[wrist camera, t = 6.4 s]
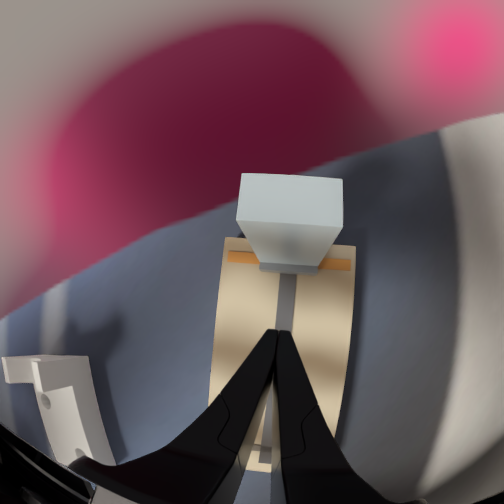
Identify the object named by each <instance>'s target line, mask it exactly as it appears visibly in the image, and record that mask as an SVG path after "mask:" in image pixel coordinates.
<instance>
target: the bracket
mask: <svg viewBox="0 0 504 504" xmlns="http://www.w3.org/2000/svg"><path fill="white" fill-rule="evenodd" d="M2 364H3V369H4V375H5V380H6V383H9V384H12V383H33V384H34V389H35V393H36V398H37V402H38V406H39V409H40V413H41V417H42V420H43V423H44V427H45V430H46V433H47V436H48V439H49V442H50V445H51V447H52V450H53V453H54V455H55V458H56V460H57V462H59V463H62V464H64V465H67V466H69V464H70V463H71V462H73V461H74V460H76V459H78V458H80V457H81V456H83V455H85V456H88V457H90V458H92V459H94V460H96V461H98V462H99V463H102V464H104V465H109V466H116V463H115V460H114V457H113V454H112V451H111V448H110V445H109V442H108V439H107V436H106V432H105V429H104V426H103V422H102V418H101V415H100V411H99V407H98V403H97V398H96V394H95V390H94V385H93V380H92V375H91V369H90V364H89V358H88V356H72V355H64V356H59V355H45V354H44V355H30V356H14V357H2Z"/></svg>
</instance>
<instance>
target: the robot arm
mask: <svg viewBox="0 0 504 504" xmlns="http://www.w3.org/2000/svg"><path fill="white" fill-rule="evenodd" d="M278 332H279V333H278ZM273 373H274V374H273ZM272 380H273V383H272ZM271 385H272V457H271V499H270V504H428V503H427V502H426V500H425V499H418V500H414V501H409V502H405V503H395V502H392V501H389V500H388V499H386V498H385V497H384V496H382V495H381V494H380V493H379V492H377V491H376V490H375V489H374V488H373V487H371V486H370V485H369V484H368V483H367V482H365V481H364V480H363V479H362V478H361V477H360V476H358V475H357V474H356V473H355V471H354V470H353V469H352V468H351V466H350V465H349V463H348V462H347V460H346V458H345V456H344V455H343V453H342V451H341V449H340V448H339V446H338V444H337V442H336V441H335V439H334V437H333V435H332V433H331V431H330V429H329V427H328V426H327V423H326V421H325V419H324V416H323V414H322V411H321V409H320V406H319V405H318V401H317V399H316V396H315V393H314V391H313V388H312V386H311V383H310V380H309V378H308V375H307V373H306V370H305V367H304V365H303V362H302V360H301V357H300V355H299V352H298V349H297V347H296V344H295V342H294V339H293V337H292V334H291V332H290V331H289V330H279V331H278V330H277V329H267V330H266V331H265V333H264V334H263V335H262V337H261V338H260V340H259V341H258V342H257V344H256V345H255V347H254V348H253V349H252V351H251V352H250V353H249V355H248V356H247V357H246V359H245V360H244V362H243V363H242V364H241V366H240V367H239V368H238V370H237V371H236V372H235V374H234V375H233V376H232V377H231V379H230V380H229V381H228V383H227V384H226V385H225V387H224V388H223V389H222V391H221V392H220V394H218V395H217V397H216V398H215V399H214V401H213V402H212V403H211V404H210V405H209V406H208V408H207V409H206V410H205V411H204V412H203V413H202V414H201V415H200V416H199V417H198V418H197V419H196V420H195V421H194V422H193V423H192V424H191V425H190V426H188V427H187V428H186V429H185V430H184V431H183V432H182V433H181V434H179V435H178V436H177V437H176V438H175V439H174V440H173V441H171V442H170V443H169V444H167V445H166V446H164V447H163V448H161V449H159V450H157V451H155V452H152V453H150V454H147V455H145V456H142V457H140V458H137V459H134V460H132V461H129V462H126V463H123V464H120V465H116V466H109V465H104V464H102V463H99V462H98V461H96V460H94V459H92V458H90V457H88V456H85V455H83V456H81V457H80V458H78V459H76V460H74V461H73V462H71V463H70V464H69V466H68V468H69V469H71V470H72V471H74V472H75V473H77V474H78V475H80V476H82V477H84V478H85V479H87V480H89V481H91V482H93V483H95V484H96V487H95V490H94V491H93V488H92V486H91V484H90V483H89V482H88V481H86V480H84V479H82V478H81V477H79V476H77V475H75V474H74V473H72V472H71V471H69V470H67V469H66V468H64V467H63V466H61V465H60V464H58V463H57V462H55V461H54V460H52V459H51V458H49V457H48V456H46V455H45V454H43V453H42V452H40V451H39V450H38V449H36V448H35V447H33V446H32V445H30V444H29V443H27V442H26V441H25V440H23V439H22V438H20V437H19V436H18V435H16V434H15V433H14V432H12V431H11V430H10V429H8V428H7V427H6V426H4V425H3V424H2V423H1V422H0V504H233V503H234V500H235V497H236V495H237V492H238V489H239V486H240V484H241V481H242V477H243V475H244V472H245V469H246V466H247V463H248V460H249V457H250V454H251V451H252V448H253V445H254V442H255V439H256V436H257V433H258V429H259V426H260V423H261V420H262V416H263V413H264V410H265V406H266V403H267V400H268V396H269V393H270V389H271ZM472 504H504V490H503V491H500V492H498V493H496V494H494V495H491V496H489V497H487V498H484V499H482V500H479V501H477V502H474V503H472Z"/></svg>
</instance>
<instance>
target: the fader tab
mask: <svg viewBox="0 0 504 504" xmlns="http://www.w3.org/2000/svg"><path fill="white" fill-rule="evenodd" d="M236 221H237V223H238V224H239V226H240V228H241V230H242V231H243V233H244V235H245V237H246V238H247V240H248V242H249V244H250V246H251V247H252V249H253V251H254V253H255V254H256V256H257V258H258V260H259V261H260V265H259V270H260V271H261V272H272V273H285V274H298V275H312V276H316V275H317V273H318V265H319V264H320V262H321V261H322V259H323V258H324V256H325V255H326V253H327V252H328V250H329V249H330V247H331V245H332V244H333V242H334V241H335V239H336V238H337V236H338V234H339V233H340V231H341V230H342V228H343V182H342V179H336V178H324V177H311V176H297V175H278V174H251V173H242V178H241V185H240V194H239V201H238V209H237V217H236Z"/></svg>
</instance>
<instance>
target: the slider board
mask: <svg viewBox="0 0 504 504" xmlns="http://www.w3.org/2000/svg"><path fill="white" fill-rule="evenodd" d="M355 260H356V246H346V245H333V244H332V245H331V247H330V249H329V250H328V252H327V253H326V255H325V256H324V258H323V259H322V261H321V262H320V264H319V265H318V273H317V275H316V276H312V275H298V274H285V273H272V272H261V271H260V270H259V265H260V261H259V260H258V258H257V256H256V254H255V253H254V251H253V249H252V247H251V246H250V244H249V242H248V240H247V238H232V237H225V244H224V252H223V260H222V269H221V278H220V286H219V295H218V305H217V314H216V324H215V334H214V344H213V355H212V366H211V378H210V390H209V402H208V406H209V405H210V404H211V403H212V402H213V401H214V399H215V398H216V397H217V395H218V394H220V392H221V391H222V389H223V388H224V387H225V385H226V384H227V383H228V381H229V380H230V379H231V377H232V376H233V375H234V374H235V372H236V371H237V370H238V368H239V367H240V366H241V364H242V363H243V362H244V360H245V359H246V357H247V356H248V355H249V353H250V352H251V351H252V349H253V348H254V347H255V345H256V344H257V342H258V341H259V340H260V338H261V337H262V335H263V334H264V333H265V331H266V330H267V329H277V330H278V331H279V330H289V331H290V332H291V334H292V337H293V339H294V342H295V344H296V347H297V349H298V352H299V355H300V357H301V360H302V362H303V365H304V367H305V370H306V373H307V375H308V378H309V380H310V383H311V386H312V388H313V391H314V393H315V396H316V399H317V401H318V405H319V406H320V409H321V411H322V414H323V416H324V419H325V421H326V423H327V426H328V427H329V429H330V431H331V433H332V435H333V437H335V432H336V427H337V422H338V417H339V412H340V407H341V401H342V395H343V389H344V383H345V376H346V369H347V362H348V354H349V345H350V336H351V326H352V315H353V301H354V285H355ZM278 333H279V332H278ZM273 374H274V373H273ZM272 383H273V380H272ZM271 457H272V385H271V389H270V393H269V396H268V400H267V403H266V406H265V410H264V413H263V416H262V420H261V423H260V426H259V429H258V433H257V436H256V439H255V442H254V445H253V448H252V451H251V454H250V457H249V460H248V463H247V466H246V470H253V471H262V472H271Z"/></svg>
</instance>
